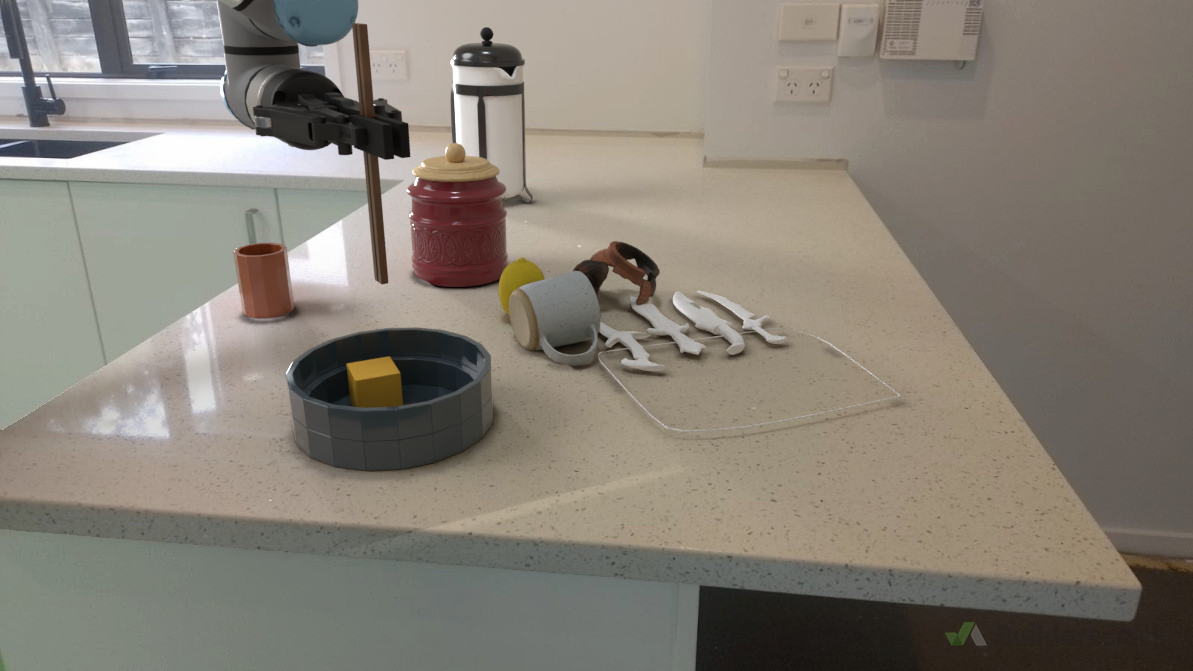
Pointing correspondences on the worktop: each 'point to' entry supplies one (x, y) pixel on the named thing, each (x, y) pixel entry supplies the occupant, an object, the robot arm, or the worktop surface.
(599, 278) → the broken clay pot
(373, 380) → the block
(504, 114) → the coffee press
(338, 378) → the bowl
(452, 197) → the kitchen canister
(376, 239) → the chopsticks
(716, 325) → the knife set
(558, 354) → the ceramic mug
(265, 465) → the worktop surface
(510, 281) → the lemon
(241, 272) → the holder
